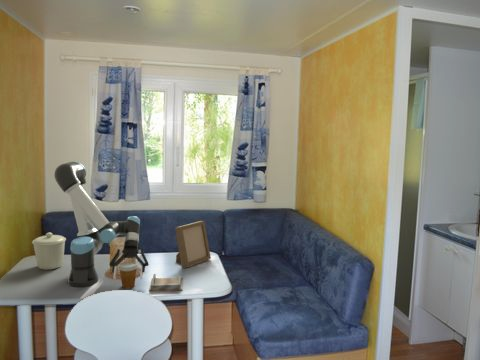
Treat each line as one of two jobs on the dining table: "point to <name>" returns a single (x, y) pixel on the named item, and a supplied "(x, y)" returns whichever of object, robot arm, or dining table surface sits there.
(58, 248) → the canister
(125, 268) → the disposable coffee cup
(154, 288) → the rail cradle
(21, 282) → the dining table surface
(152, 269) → the dining table surface
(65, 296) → the dining table surface
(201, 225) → the photo frame
